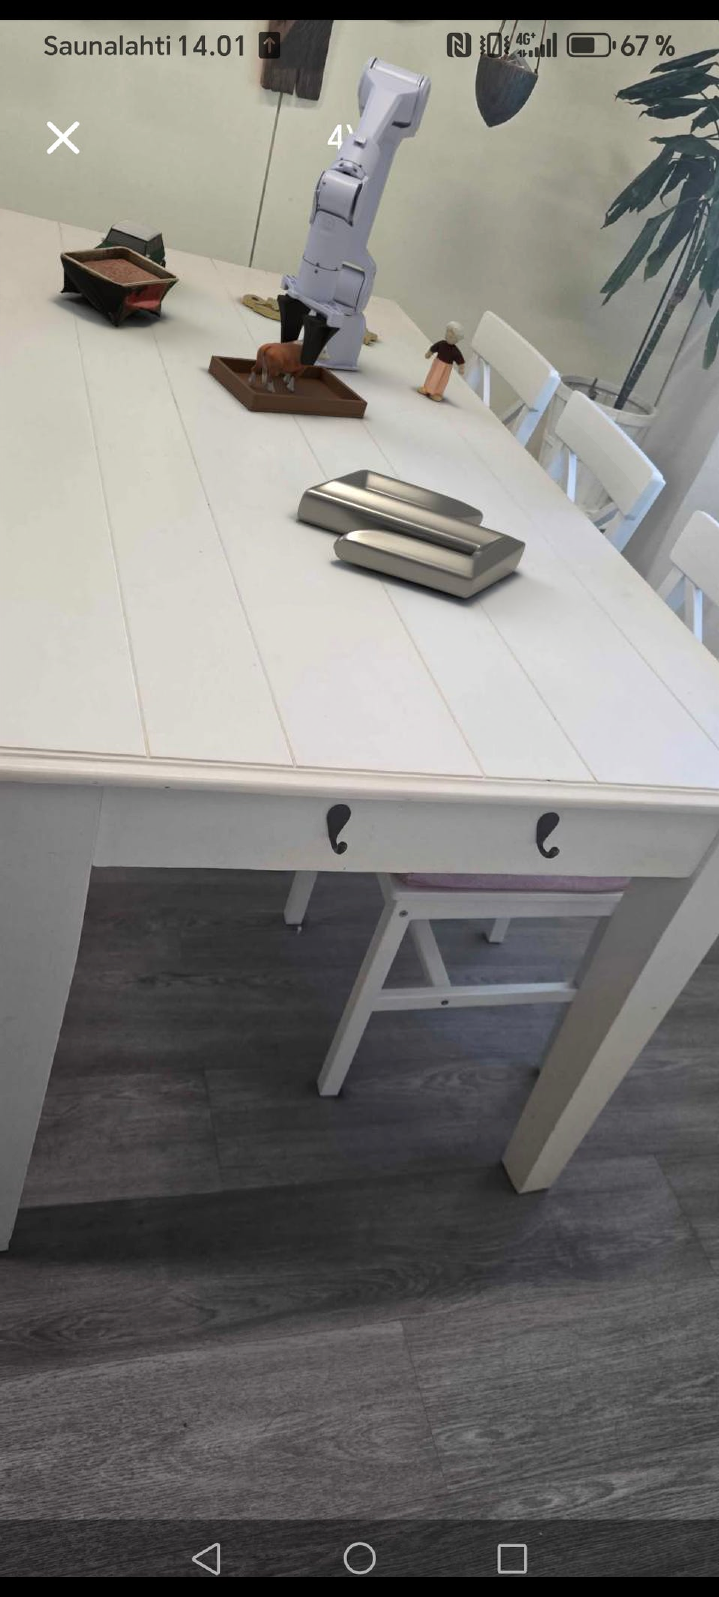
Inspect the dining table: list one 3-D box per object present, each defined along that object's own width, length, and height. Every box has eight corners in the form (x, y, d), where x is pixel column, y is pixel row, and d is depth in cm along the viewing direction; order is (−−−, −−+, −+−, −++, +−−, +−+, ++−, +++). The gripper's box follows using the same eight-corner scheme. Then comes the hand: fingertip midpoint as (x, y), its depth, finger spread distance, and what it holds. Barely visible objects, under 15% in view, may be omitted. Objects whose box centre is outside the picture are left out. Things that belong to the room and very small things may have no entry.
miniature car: (82, 276, 201) (90, 226, 196) (118, 256, 216) (126, 209, 211) (133, 295, 201) (142, 245, 197) (166, 274, 216) (175, 227, 211)
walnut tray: (319, 380, 195) (323, 365, 194) (363, 417, 188) (367, 402, 186) (207, 371, 183) (211, 354, 182) (250, 410, 176) (254, 393, 174)
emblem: (457, 464, 168) (567, 568, 150) (444, 499, 171) (551, 606, 153) (277, 446, 153) (375, 559, 136) (266, 485, 156) (361, 601, 139)
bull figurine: (320, 394, 189) (339, 346, 184) (254, 394, 180) (272, 343, 175) (303, 379, 191) (321, 330, 186) (237, 379, 182) (255, 327, 177)
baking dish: (176, 336, 198) (191, 272, 193) (105, 327, 183) (120, 258, 178) (108, 307, 202) (122, 244, 198) (33, 296, 187) (46, 228, 183)
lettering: (244, 311, 212) (246, 306, 211) (240, 293, 220) (241, 288, 219) (380, 347, 219) (381, 342, 219) (371, 328, 227) (372, 323, 227)
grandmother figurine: (408, 389, 206) (433, 314, 198) (416, 385, 209) (440, 311, 201) (449, 407, 204) (475, 333, 197) (456, 403, 207) (482, 329, 200)
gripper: (273, 240, 176) (251, 333, 184) (324, 278, 168) (298, 374, 176) (313, 247, 180) (290, 337, 188) (365, 284, 172) (338, 377, 180)
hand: (296, 355), depth 182 cm, fingers open, 5 cm apart
